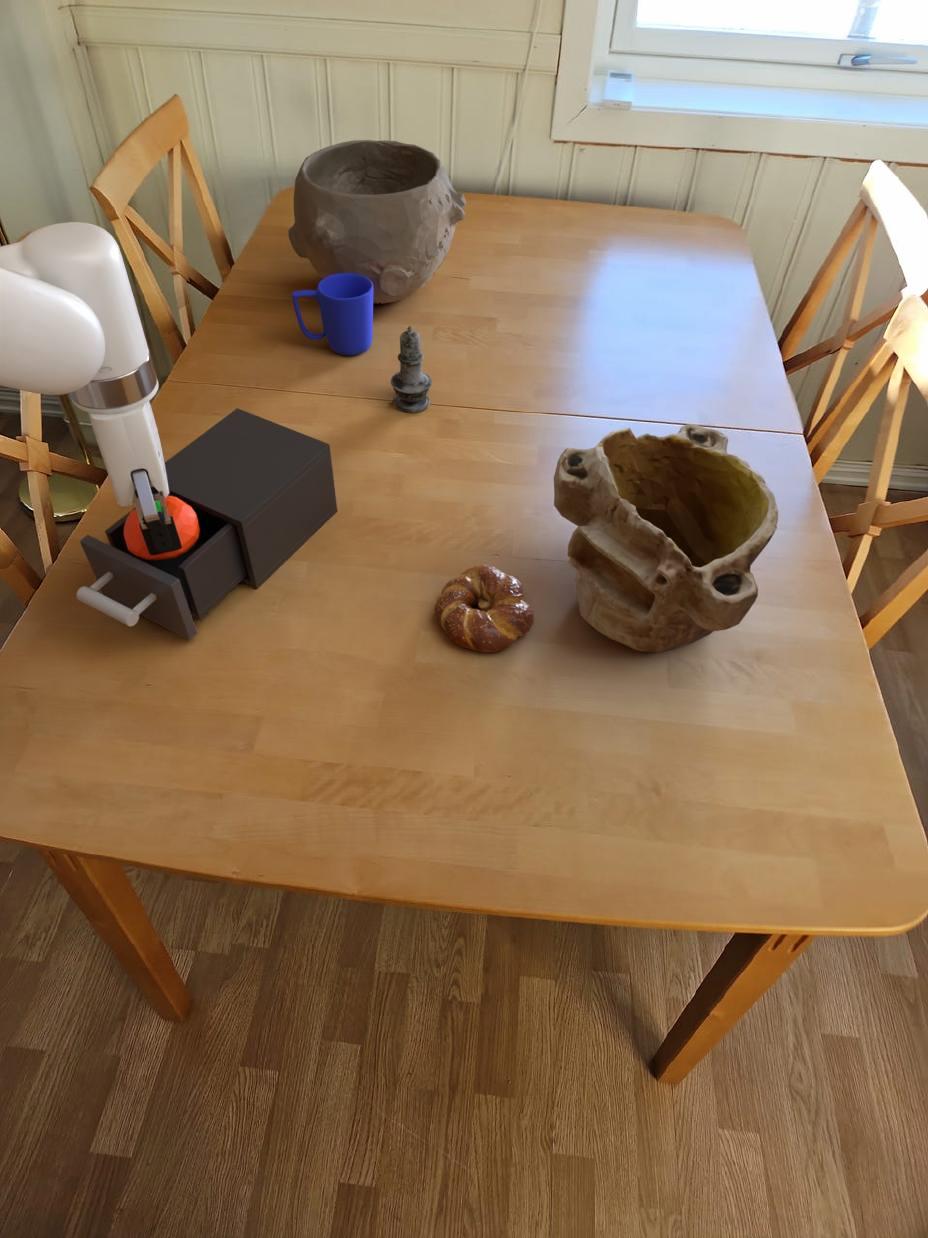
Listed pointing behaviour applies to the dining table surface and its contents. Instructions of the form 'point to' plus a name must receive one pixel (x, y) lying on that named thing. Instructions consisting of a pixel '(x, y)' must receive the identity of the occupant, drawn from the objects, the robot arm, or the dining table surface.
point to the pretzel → (483, 609)
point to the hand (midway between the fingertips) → (160, 524)
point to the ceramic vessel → (663, 534)
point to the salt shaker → (411, 376)
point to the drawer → (164, 576)
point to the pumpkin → (183, 522)
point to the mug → (342, 312)
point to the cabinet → (258, 486)
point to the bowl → (375, 214)
